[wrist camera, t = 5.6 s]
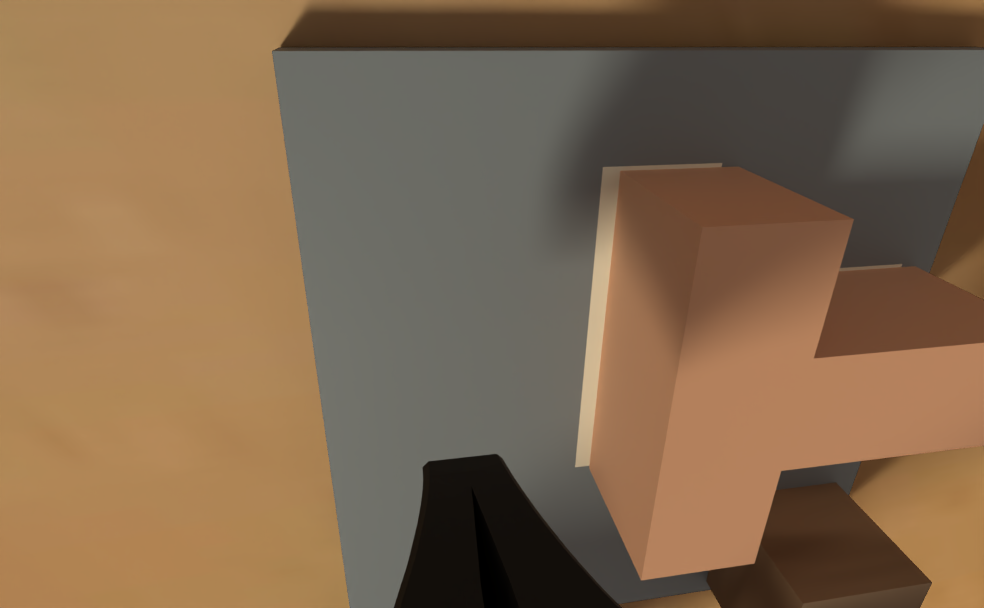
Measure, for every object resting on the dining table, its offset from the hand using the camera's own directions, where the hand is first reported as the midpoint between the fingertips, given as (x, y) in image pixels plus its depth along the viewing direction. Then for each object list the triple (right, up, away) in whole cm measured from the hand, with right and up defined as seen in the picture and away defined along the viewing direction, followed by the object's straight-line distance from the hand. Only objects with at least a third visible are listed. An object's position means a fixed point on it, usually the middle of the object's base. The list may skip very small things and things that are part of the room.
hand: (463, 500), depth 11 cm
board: (+4, +1, +7) cm, 8 cm away
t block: (+8, +3, +6) cm, 10 cm away
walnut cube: (+10, -4, +10) cm, 15 cm away
